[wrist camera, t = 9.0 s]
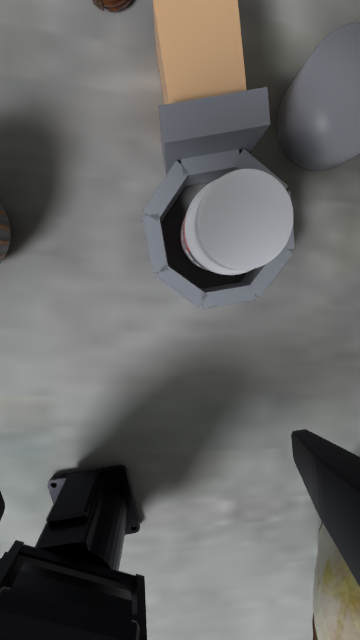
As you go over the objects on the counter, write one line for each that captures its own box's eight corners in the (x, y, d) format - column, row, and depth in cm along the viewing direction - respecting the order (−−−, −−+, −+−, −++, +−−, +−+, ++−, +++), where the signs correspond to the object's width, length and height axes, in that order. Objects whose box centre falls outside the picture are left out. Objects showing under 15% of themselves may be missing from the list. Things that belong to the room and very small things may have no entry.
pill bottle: (167, 224, 19) (164, 199, 11) (226, 186, 19) (268, 131, 11) (202, 283, 20) (223, 299, 12) (259, 248, 20) (321, 240, 12)
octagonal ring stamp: (283, 288, 20) (319, 298, 15) (162, 309, 21) (158, 325, 15) (261, 35, 17) (299, -60, 12) (116, 60, 17) (93, -23, 12)
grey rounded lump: (367, 163, 19) (410, 142, 16) (280, 178, 19) (304, 160, 16) (365, 60, 18) (411, 12, 14) (271, 77, 18) (295, 33, 14)
